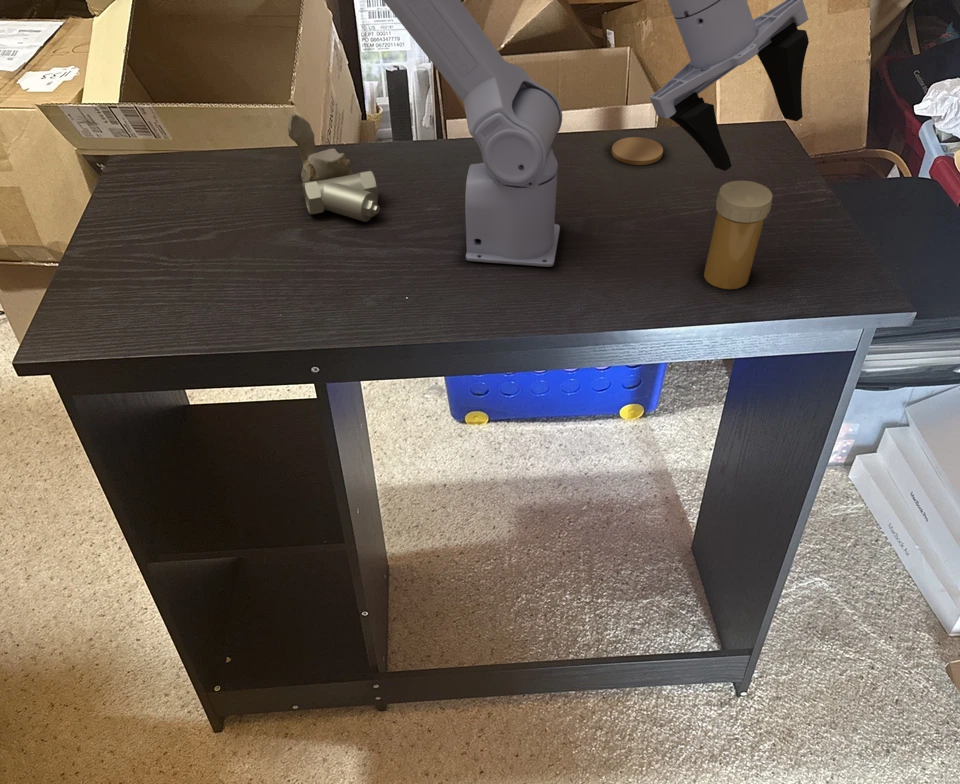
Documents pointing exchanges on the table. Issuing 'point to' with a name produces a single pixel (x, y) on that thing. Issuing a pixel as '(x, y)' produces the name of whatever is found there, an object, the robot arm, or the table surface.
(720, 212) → the jar lid
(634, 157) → the coaster
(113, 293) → the table surface
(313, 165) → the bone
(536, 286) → the table surface
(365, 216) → the pipe fitting
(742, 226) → the jar
